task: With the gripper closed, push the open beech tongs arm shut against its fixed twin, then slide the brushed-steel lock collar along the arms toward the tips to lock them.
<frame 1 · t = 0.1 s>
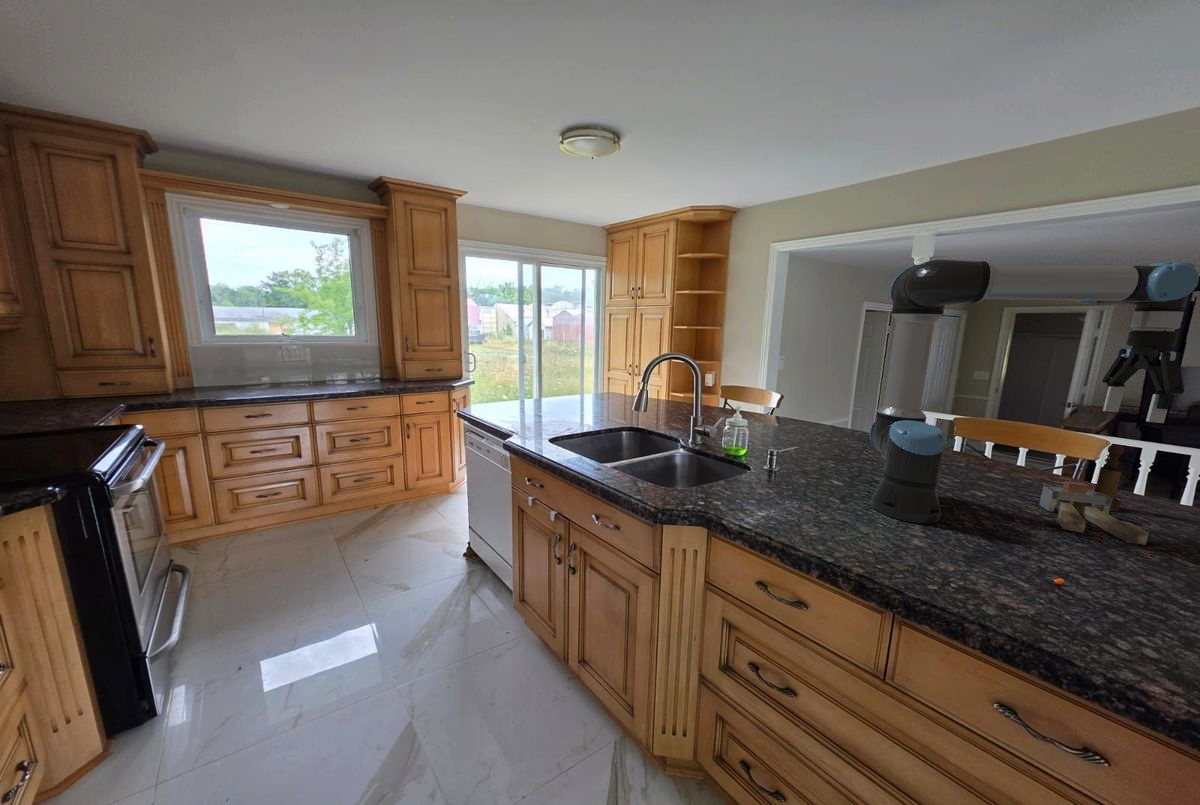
hand: (1131, 416, 110), 28 cm above the counter, fingers open, 13 cm apart
tongs fixed arm: (1061, 505, 125), on the counter
lock collar: (1075, 498, 119), point 4 cm above the counter, slide at 0.0 cm
brown wooden post: (1101, 507, 125), on the counter
tongs hinged arm: (1069, 508, 117), point 2 cm above the counter, hinge at 18.0°
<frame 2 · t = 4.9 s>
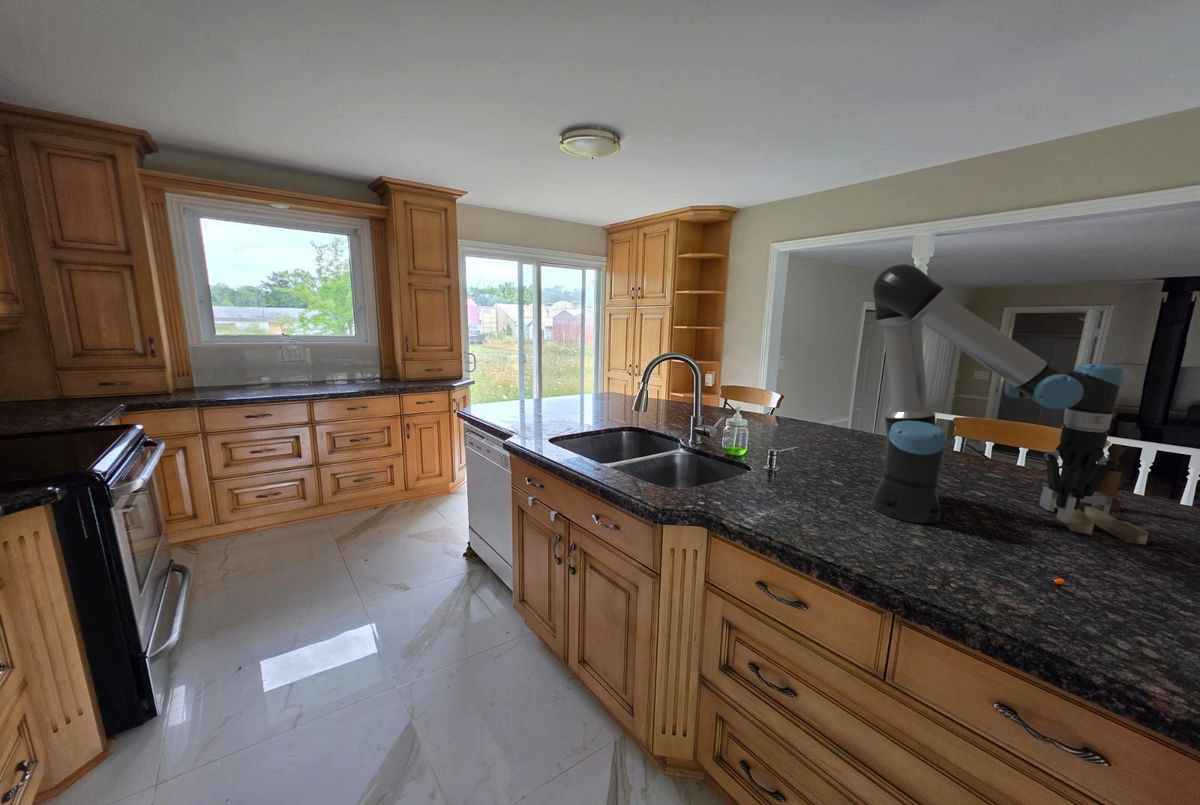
hand: (1063, 520, 110), 2 cm above the counter, fingers closed
tongs hinged arm: (1072, 508, 116), point 2 cm above the counter, hinge at 14.5°, touching gripper
everything else where it was.
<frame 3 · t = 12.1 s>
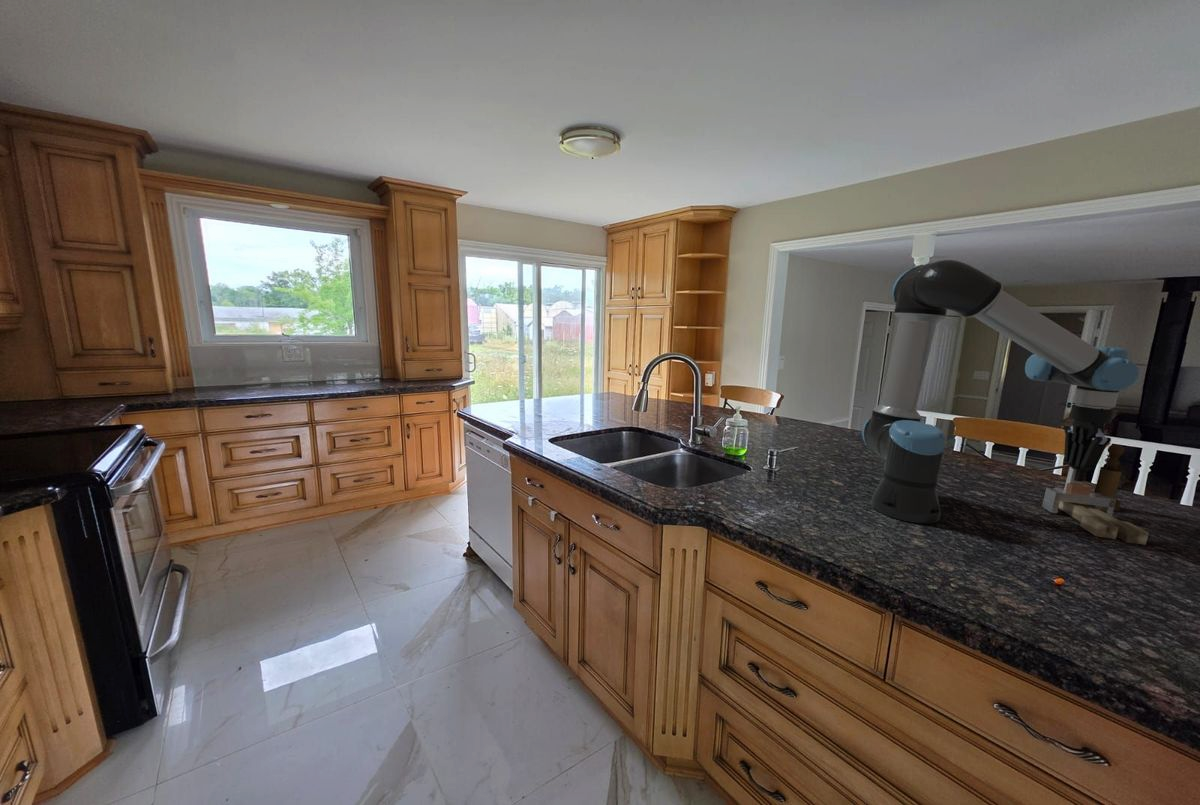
hand: (1072, 491, 121), 6 cm above the counter, fingers closed
lock collar: (1078, 499, 118), point 4 cm above the counter, slide at 1.3 cm, touching gripper
tongs hinged arm: (1082, 510, 115), point 2 cm above the counter, hinge at 3.7°
everything else where it was.
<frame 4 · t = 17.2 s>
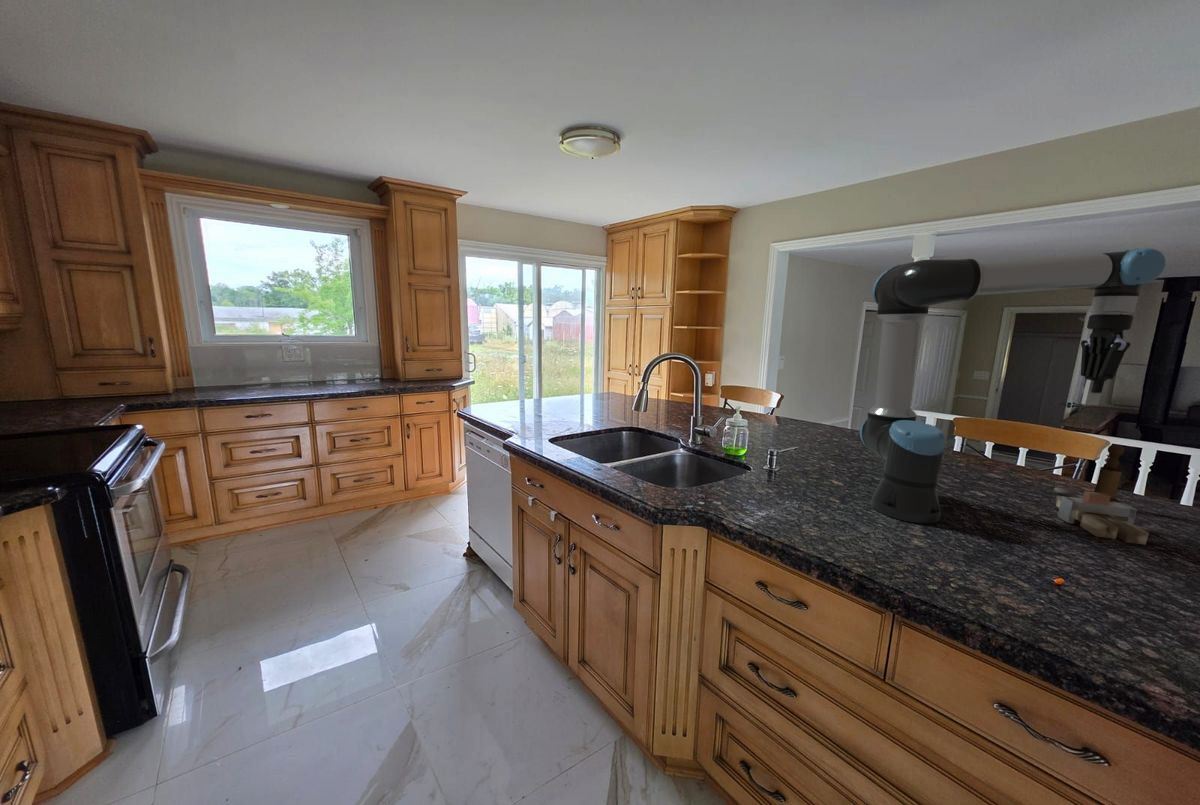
hand: (1089, 404, 117), 29 cm above the counter, fingers closed
lock collar: (1096, 509, 112), point 4 cm above the counter, slide at 7.7 cm
everything else where it was.
at the end: tongs hinged arm at +4° (first picture: +18°); lock collar slide at 7.7 cm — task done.
